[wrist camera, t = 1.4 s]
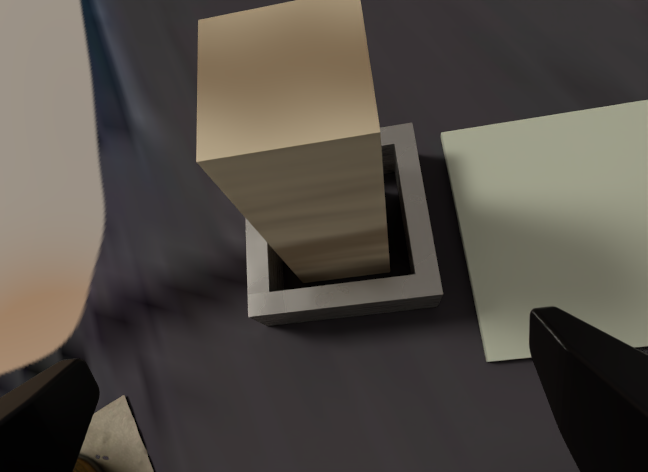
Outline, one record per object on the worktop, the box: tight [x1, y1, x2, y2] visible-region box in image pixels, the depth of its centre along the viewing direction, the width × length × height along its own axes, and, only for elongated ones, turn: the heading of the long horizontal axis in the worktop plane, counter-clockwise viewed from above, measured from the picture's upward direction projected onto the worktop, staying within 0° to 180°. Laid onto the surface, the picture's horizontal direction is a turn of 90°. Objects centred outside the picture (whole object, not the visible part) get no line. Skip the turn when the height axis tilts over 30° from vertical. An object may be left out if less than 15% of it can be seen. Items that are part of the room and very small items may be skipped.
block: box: [196, 0, 390, 283], centre depth 17 cm, size 4×4×13 cm
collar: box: [246, 123, 443, 326], centre depth 22 cm, size 8×8×3 cm
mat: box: [441, 100, 648, 362], centre depth 22 cm, size 12×12×1 cm
